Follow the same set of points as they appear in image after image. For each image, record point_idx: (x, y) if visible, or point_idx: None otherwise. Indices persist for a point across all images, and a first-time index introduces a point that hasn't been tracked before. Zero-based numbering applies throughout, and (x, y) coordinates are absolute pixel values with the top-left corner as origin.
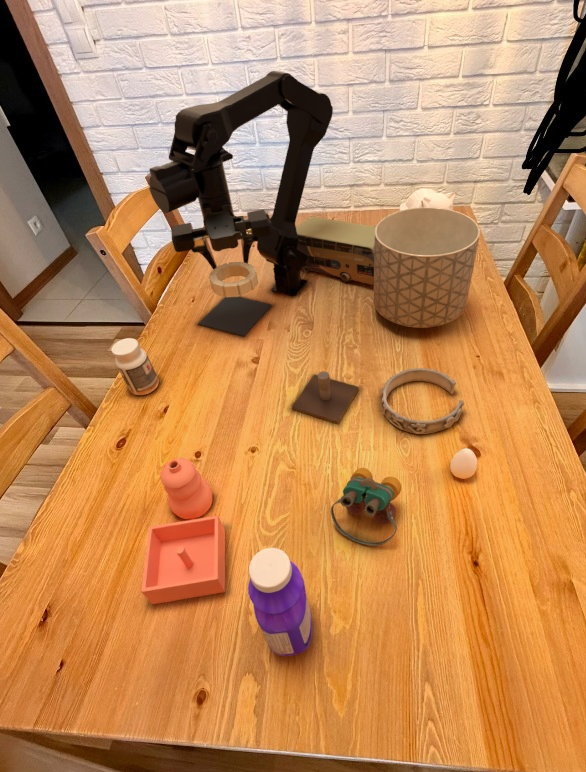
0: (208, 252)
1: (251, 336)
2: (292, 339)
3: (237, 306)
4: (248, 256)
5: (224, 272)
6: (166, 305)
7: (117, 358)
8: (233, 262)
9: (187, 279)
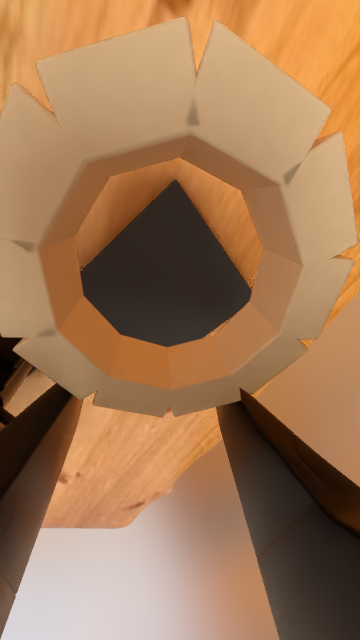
0: (354, 524)
1: (153, 169)
2: (6, 41)
3: (154, 319)
4: (9, 424)
5: (202, 361)
6: (274, 378)
7: None
8: (137, 410)
9: (214, 428)
